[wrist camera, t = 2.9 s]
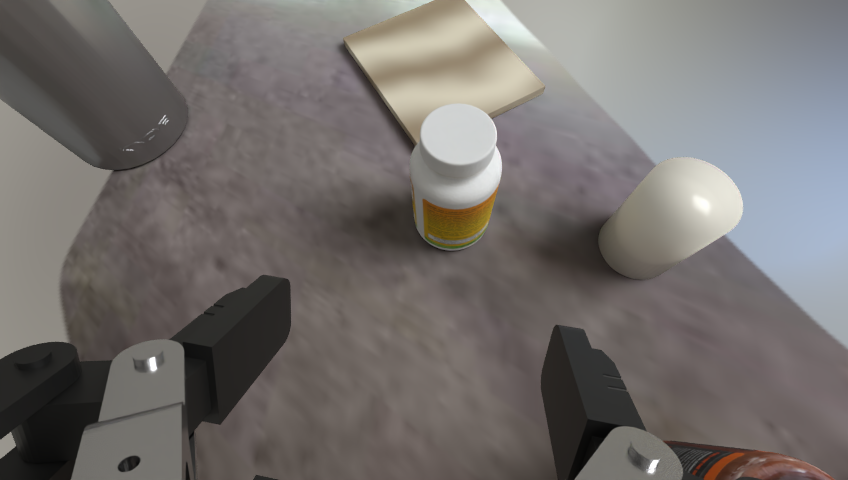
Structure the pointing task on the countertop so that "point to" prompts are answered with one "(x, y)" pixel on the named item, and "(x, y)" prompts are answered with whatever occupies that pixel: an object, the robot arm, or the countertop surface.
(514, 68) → the ash board
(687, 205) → the ceramic jar
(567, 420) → the robot arm
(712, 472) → the supplement bottle
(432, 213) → the supplement bottle
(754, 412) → the countertop surface
